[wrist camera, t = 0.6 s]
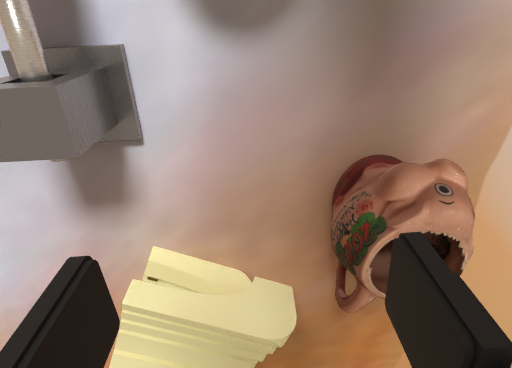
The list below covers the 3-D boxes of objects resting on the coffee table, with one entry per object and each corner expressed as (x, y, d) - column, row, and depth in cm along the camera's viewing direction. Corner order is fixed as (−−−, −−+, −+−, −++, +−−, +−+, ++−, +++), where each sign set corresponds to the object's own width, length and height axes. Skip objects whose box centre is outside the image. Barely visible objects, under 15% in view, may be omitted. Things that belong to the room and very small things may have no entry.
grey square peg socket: (7, 50, 35) (-87, 65, 25) (123, 44, 35) (73, 57, 25) (40, 141, 39) (-29, 184, 30) (142, 136, 39) (107, 178, 30)
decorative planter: (367, 268, 49) (407, 354, 37) (290, 244, 47) (306, 327, 34) (450, 147, 41) (538, 207, 28) (362, 111, 38) (416, 159, 26)
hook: (-34, -82, 27) (-239, -149, 16) (52, -87, 27) (-91, -157, 16) (46, 145, 36) (-48, 208, 25) (110, 142, 36) (46, 203, 25)
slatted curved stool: (215, 365, 58) (203, 497, 43) (123, 344, 56) (73, 477, 40) (283, 231, 46) (301, 347, 30) (168, 196, 43) (121, 303, 27)
